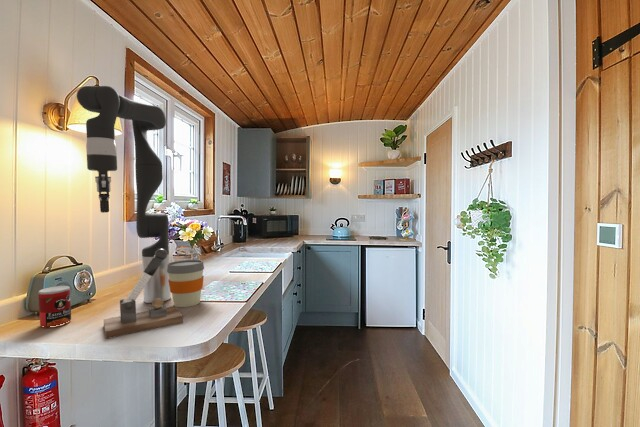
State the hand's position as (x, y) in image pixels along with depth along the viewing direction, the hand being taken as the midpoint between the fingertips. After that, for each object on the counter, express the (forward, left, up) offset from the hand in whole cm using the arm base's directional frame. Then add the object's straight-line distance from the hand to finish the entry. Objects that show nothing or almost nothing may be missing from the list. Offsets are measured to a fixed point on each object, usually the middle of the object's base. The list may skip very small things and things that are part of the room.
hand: (104, 212), depth 100 cm
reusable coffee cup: (-8, +24, -35) cm, 43 cm away
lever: (+6, +4, -29) cm, 30 cm away
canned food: (-12, -14, -35) cm, 39 cm away
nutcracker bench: (+6, +8, -34) cm, 36 cm away
